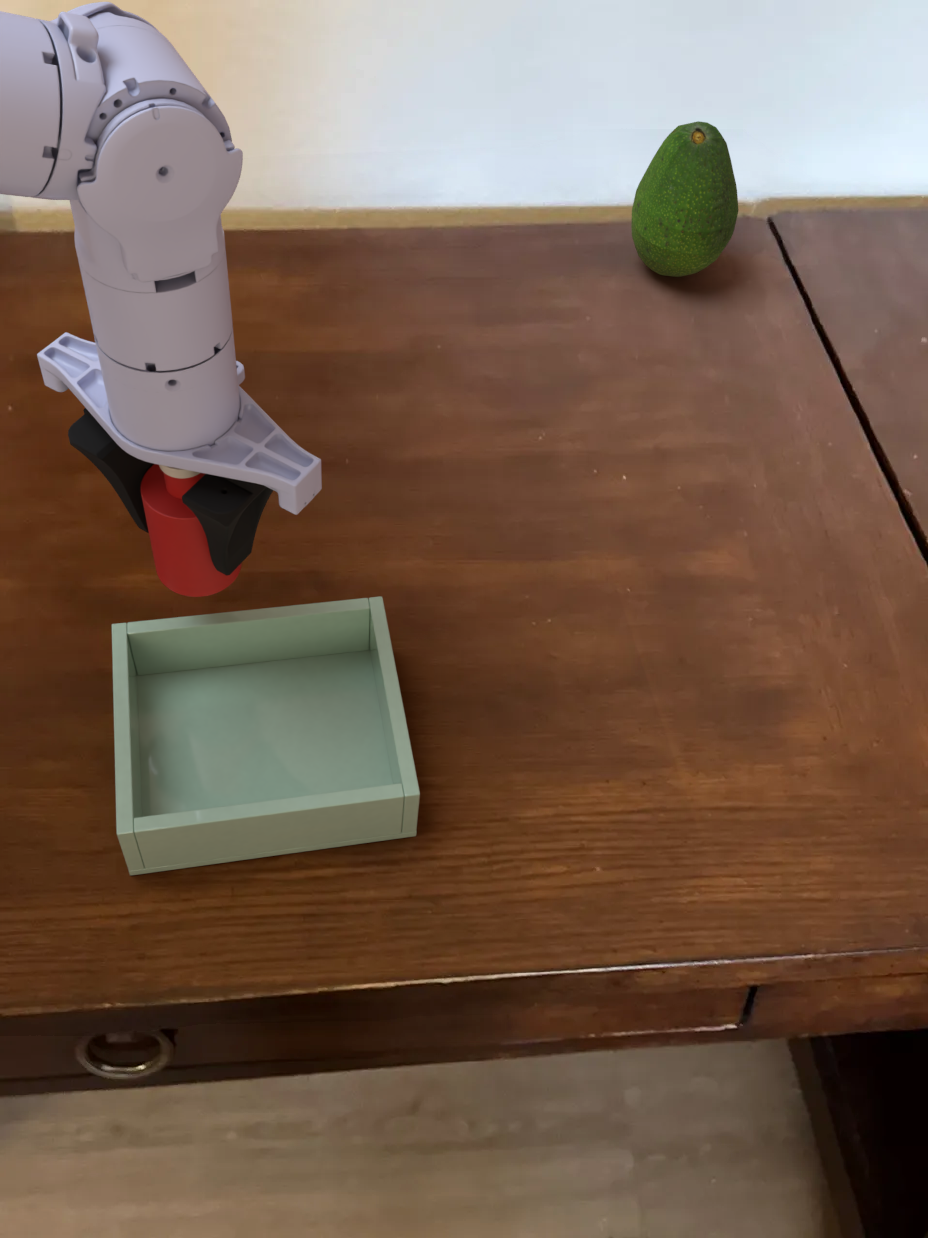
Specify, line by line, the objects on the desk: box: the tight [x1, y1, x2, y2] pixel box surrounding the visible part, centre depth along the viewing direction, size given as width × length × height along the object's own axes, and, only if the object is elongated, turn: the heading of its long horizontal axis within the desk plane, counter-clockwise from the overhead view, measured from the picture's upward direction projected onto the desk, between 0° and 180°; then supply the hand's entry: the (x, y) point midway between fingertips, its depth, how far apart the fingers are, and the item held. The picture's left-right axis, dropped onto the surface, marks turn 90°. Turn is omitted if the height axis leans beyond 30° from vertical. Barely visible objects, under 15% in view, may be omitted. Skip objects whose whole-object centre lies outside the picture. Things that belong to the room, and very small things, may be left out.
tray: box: [111, 595, 421, 876], centre depth 64 cm, size 15×13×4 cm
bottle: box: [141, 464, 243, 598], centre depth 60 cm, size 4×4×8 cm
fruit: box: [630, 120, 740, 278], centre depth 90 cm, size 8×8×12 cm
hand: (195, 539), depth 62 cm, fingers closed on bottle, 4 cm apart
